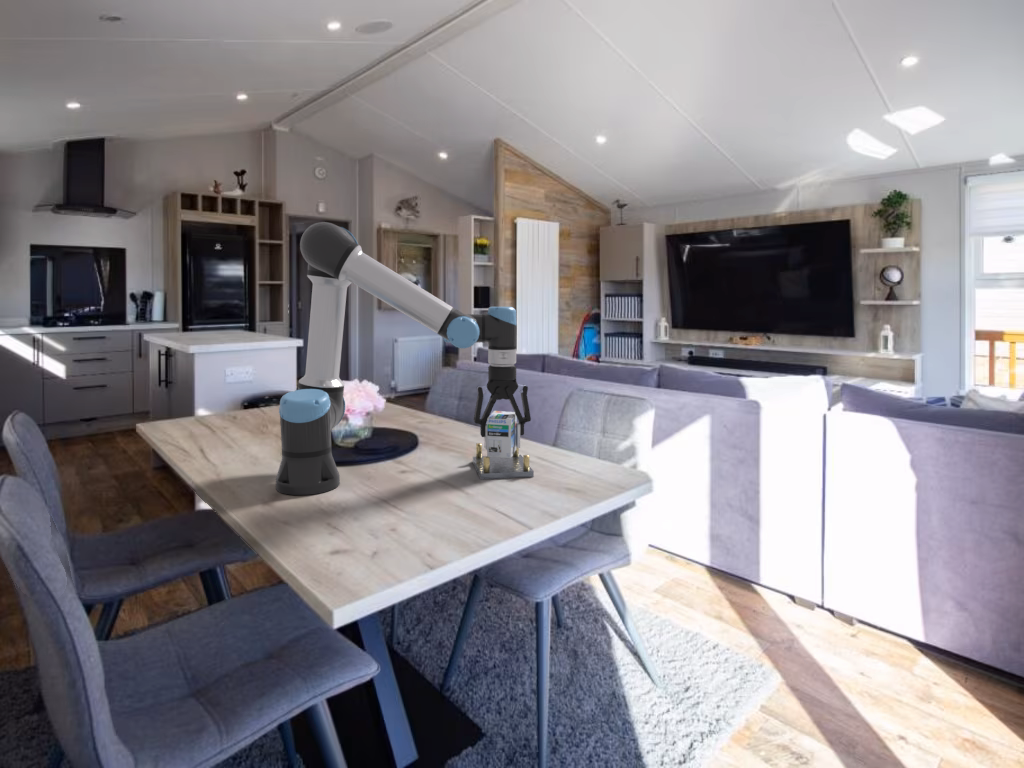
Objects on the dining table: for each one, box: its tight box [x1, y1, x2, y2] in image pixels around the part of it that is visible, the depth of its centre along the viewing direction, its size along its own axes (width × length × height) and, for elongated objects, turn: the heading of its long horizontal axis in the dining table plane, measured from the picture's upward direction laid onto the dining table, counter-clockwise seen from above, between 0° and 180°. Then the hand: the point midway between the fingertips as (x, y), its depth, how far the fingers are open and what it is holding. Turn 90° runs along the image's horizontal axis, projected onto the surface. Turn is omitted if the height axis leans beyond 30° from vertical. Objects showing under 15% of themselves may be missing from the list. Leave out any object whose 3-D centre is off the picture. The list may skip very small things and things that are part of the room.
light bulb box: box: [486, 410, 518, 458], centre depth 172 cm, size 11×7×11 cm, turn 172°
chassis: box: [472, 442, 534, 480], centre depth 173 cm, size 14×17×6 cm
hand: (502, 447), depth 172 cm, fingers closed on light bulb box, 8 cm apart
